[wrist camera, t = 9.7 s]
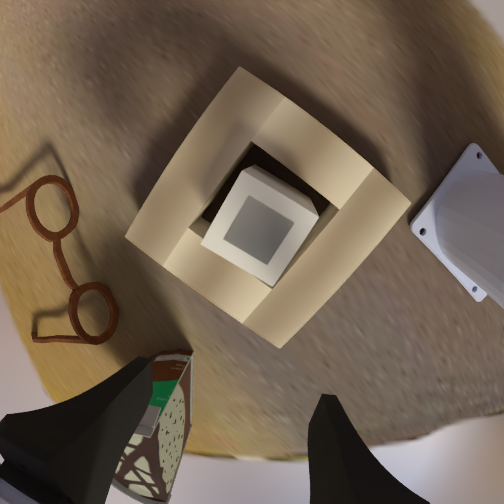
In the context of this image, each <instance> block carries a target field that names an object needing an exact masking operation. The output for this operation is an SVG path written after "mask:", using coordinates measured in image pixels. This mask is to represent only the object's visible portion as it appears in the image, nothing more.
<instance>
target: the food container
mask: <svg viewBox="0 0 504 504" xmlns="http://www.w3.org/2000/svg"><path fill="white" fill-rule="evenodd" d="M193 358H194V351H188V350H181V349H179V350H168V351H162V352H160V353H157V354H155V355H153V356H151V357H150V358H149V359H151V360H152V372H153V395H152V397H151V400H150V403H149V405H148V408H147V410H146V412H145V414H144V416H143V418H142V420H141V421H140V423H139V425H138V427H137V429H136V430H135V432H134V434H133V436H132V438H131V439H130V441H129V443H128V445H127V446H126V448H125V450H124V452H123V454H122V457H121V459H120V462H119V464H118V467H117V469H116V472H115V475H114V477H113V480H112V483H111V485H112V486H113V487H115V488H116V489H118V490H119V491H121V492H122V493H124V494H125V495H128V496H129V497H131V498H133V499H135V500H137V501H139V502H141V503H143V504H168V503H169V501H170V498H171V491H172V488H173V484H174V481H175V478H176V475H177V471H178V468H179V465H180V462H181V458H182V455H183V452H184V449H185V446H186V443H187V439H188V436H189V433H190V430H191V427H192V400H193Z"/></svg>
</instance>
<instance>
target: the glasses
mask: <svg viewBox="0 0 504 504" xmlns="http://www.w3.org/2000/svg"><path fill="white" fill-rule="evenodd" d="M45 184H55V185H57V186H59V187H60V188H62V189H63V191H64V192H65V193H66V195H67V197H68V200H69V203H70V208H71V217H70V221H69V223H68V224H67V226H66V227H65V228H64V229H62V230H61V231H59V232H51V231H49V230H47V229H46V228H45V227H43V225H42V224H41V223H40V221H39V220H38V218H37V215H36V212H35V207H34V198H35V194H36V192H37V190H38V189H39V188H40V187H41V186H42V185H45ZM25 196H26V212H27V216H28V219H29V221H30V224H31V225H32V227H33V229H34V230H35V231H36V233H37V234H38V235H40V236H41V237H42V238H43V239H45V240H46V241H49V242H53V253H54V257H55V259H56V262H57V265H58V267H59V270H60V272H61V275H62V277H63V279H64V281H65V283H66V284H67V286H68V287H69V288H70V289H72V290H73V291H72V293H71V294H70V298H69V309H68V310H69V317H70V321H71V324H72V327H73V329H74V330H75V332H76V334H77V335H78V336H67V335H56V336H48V337H37V334H36V333H34V334H31V335H32V340H33V342H37V343H49V342H65V343H82V344H93V345H98V344H102V343H104V342H106V341H107V340H109V339H110V337H111V336H112V335H113V333H114V332H115V330H116V327H117V323H118V310H117V306H116V303H115V301H114V298H113V296H112V294H111V292H110V291H109V289H108V288H107V287H106V286H105V285H103V284H102V283H100V282H89V283H86V284H83V285H81V286H78V285H77V284H76V283H75V281H74V280H73V278H72V275H71V273H70V270H69V268H68V265H67V263H66V260H65V258H64V255H63V253H62V249H61V240H60V239H62V238H64V237H65V236H67V235H68V234H69V233H70V232H71V231H72V230H73V229H74V228H75V227H76V225H77V222H78V218H79V208H78V203H77V200H76V197H75V193H74V191H73V189H72V187H71V186H70V185H69V183H68V182H67V181H66V180H65V179H63V178H61V177H59V176H56V175H48V176H44V177H41V178H40V179H38V180H37V181H35V182H34V183H33V184H31V185H30V186H29V187H27V188H26V189H24V190H23V191H22V192H20V193H19V194H18V195H16V196H15V197H14V198H12V199H11V200H10V201H8V202H7V203H6V204H4V205H3V206H2V207H0V213H1V212H3V211H5V210H7V209H8V208H10V207H11V206H12V205H14V204H15V203H17V202H18V201H19V200H21V199H22V198H24V197H25ZM90 289H96V290H98V291H99V292H101V293H102V294H103V296H104V297H105V299H106V301H107V303H108V305H109V309H110V323H109V326H108V328H107V329H106V331H105V332H104V333H103V334H101V335H100V336H90V335H88V334H87V333H86V332H85V331H84V329H83V328H82V326H81V324H80V322H79V319H78V314H77V305H78V301H79V298H80V297H81V295H82V294H83V293H84V292H86V291H88V290H90Z"/></svg>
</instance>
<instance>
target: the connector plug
mask: <svg viewBox="0 0 504 504" xmlns="http://www.w3.org/2000/svg"><path fill="white" fill-rule="evenodd" d="M318 218H319V216H318V213H317V211H316V209H315V207H314V205H313V203H312V201H311V199H310V197H308V196H307V195H305V194H303V193H302V192H300V191H299V190H297V189H295V188H294V187H292V186H290V185H289V184H287V183H286V182H284V181H282V180H281V179H279V178H277V177H276V176H274V175H272V174H271V173H269V172H267V171H266V170H264V169H262V168H260V167H259V166H257V165H253V166H251V167H248V168H246V169H244V170H242V172H241V173H240V175H239V177H238V178H237V180H236V182H235V184H234V185H233V187H232V189H231V190H230V192H229V194H228V196H227V197H226V199H225V201H224V203H223V205H222V206H221V208H220V210H219V212H218V213H217V215H216V217H215V219H214V220H213V222H212V224H211V226H210V228H209V229H208V231H207V233H206V235H205V237H204V239H203V240H202V242H201V245H202V246H204V247H206V248H207V249H209V250H211V251H212V252H214V253H216V254H218V255H219V256H221V257H223V258H224V259H226V260H228V261H229V262H231V263H233V264H235V265H236V266H238V267H240V268H241V269H243V270H245V271H247V272H248V273H250V274H252V275H253V276H255V277H257V278H259V279H260V280H262V281H264V282H265V283H267V284H269V285H271V286H272V287H273V286H274V284H275V283H276V281H277V280H278V278H279V277H280V275H281V274H282V273H283V271H284V270H285V268H286V267H287V265H288V264H289V262H290V261H291V259H292V258H293V256H294V255H295V253H296V252H297V250H298V249H299V247H300V246H301V244H302V243H303V241H304V240H305V238H306V237H307V235H308V234H309V232H310V231H311V229H312V228H313V226H314V225H315V223H316V222H317V220H318Z"/></svg>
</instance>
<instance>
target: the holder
mask: <svg viewBox="0 0 504 504" xmlns="http://www.w3.org/2000/svg"><path fill="white" fill-rule="evenodd" d="M254 144H256V145H258V146H259V147H260V148H262V149H263V150H264V151H266V152H267V153H268V154H270V155H271V156H273V157H274V158H275V159H277V160H278V161H279V162H280V163H282V164H283V165H284V166H286V167H287V168H288V169H290V170H291V171H292V172H294V173H295V174H296V175H297V176H299V177H300V178H301V179H303V180H304V181H305V182H306V183H308V184H309V185H310V186H311V187H313V188H314V189H315V190H316V191H318V192H319V193H320V194H321V195H323V196H324V197H325V198H326V199H327V200H329V201H330V202H331V203H330V204H329V205H328V207H327V208H326V209H325V210H324V212H323V213H322V214H321V215H320V216H319V218H318V220H317V222H316V223H315V225H314V226H313V228H312V229H311V231H310V232H309V234H308V235H307V237H306V238H305V240H304V241H303V243H302V244H301V246H300V247H299V249H298V250H297V252H296V253H295V255H294V256H293V258H292V259H291V261H290V262H289V264H288V265H287V267H286V268H285V270H284V271H283V273H282V274H281V275H280V277H279V278H278V280H277V281H276V283H275V284H274V286H273V287H272V286H271V285H269V284H267V283H265V282H264V281H262V280H260V279H259V278H257V277H255V276H253V275H252V274H250V273H248V272H247V271H245V270H243V269H241V268H240V267H238V266H236V265H235V264H233V263H231V262H229V261H228V260H226V259H224V258H223V257H221V256H219V255H218V254H216V253H214V252H212V251H211V250H209V249H207V248H206V247H204V246H202V245H201V242H202V240H203V239H204V237H205V235H206V233H207V231H208V229H209V228H210V226H211V224H210V223H209V222H208V221H206V220H205V219H204V218H202V217H201V216H202V215H203V214H204V212H205V211H206V209H207V208H208V207H209V205H210V204H211V202H212V201H213V199H214V198H215V197H216V195H217V194H218V193H219V191H220V190H221V188H222V187H223V186H224V184H225V183H226V181H227V180H228V179H229V177H230V176H231V175H232V173H233V172H234V171H235V169H236V168H237V167H238V165H239V164H240V162H241V161H242V160H243V158H244V157H245V156H246V154H247V153H248V152H249V150H250V149H251V148H252V147H253V145H254ZM410 204H411V202H410V201H409V200H408V199H407V198H406V197H405V196H404V195H403V194H402V193H401V192H399V191H398V190H397V189H396V188H395V187H394V186H393V185H392V184H391V183H390V182H389V181H388V180H387V179H386V178H385V177H384V176H382V175H381V174H380V173H379V172H378V171H377V170H376V169H375V168H374V167H373V166H371V165H370V164H369V163H368V162H367V161H366V160H365V159H363V158H362V157H361V156H360V155H359V154H358V153H357V152H355V151H354V150H353V149H352V148H351V147H349V146H348V145H347V144H346V143H345V142H343V141H342V140H341V139H340V138H339V137H337V136H336V135H335V134H334V133H332V132H331V131H330V130H329V129H327V128H326V127H325V126H324V125H322V124H321V123H320V122H318V121H317V120H316V119H315V118H313V117H312V116H311V115H309V114H308V113H307V112H305V111H304V110H303V109H301V108H300V107H299V106H297V105H296V104H294V103H293V102H292V101H290V100H289V99H288V98H286V97H285V96H283V95H282V94H281V93H279V92H278V91H276V90H275V89H273V88H272V87H270V86H269V85H267V84H266V83H264V82H263V81H261V80H260V79H258V78H257V77H255V76H254V75H252V74H251V73H249V72H248V71H246V70H245V69H243V68H241V67H240V66H239V67H238V68H237V70H236V71H235V72H234V73H233V75H232V76H231V77H230V78H229V80H228V81H227V82H226V84H225V85H224V86H223V87H222V89H221V90H220V91H219V93H218V94H217V95H216V97H215V98H214V99H213V101H212V102H211V103H210V105H209V106H208V107H207V109H206V110H205V111H204V113H203V114H202V116H201V117H200V118H199V120H198V121H197V123H196V124H195V125H194V127H193V128H192V130H191V131H190V133H189V134H188V135H187V137H186V138H185V140H184V141H183V143H182V144H181V146H180V147H179V149H178V150H177V152H176V153H175V155H174V156H173V158H172V159H171V161H170V162H169V164H168V165H167V167H166V169H165V170H164V172H163V173H162V175H161V176H160V178H159V180H158V181H157V183H156V184H155V186H154V188H153V189H152V191H151V193H150V194H149V196H148V197H147V199H146V201H145V202H144V204H143V206H142V208H141V209H140V211H139V213H138V214H137V216H136V218H135V220H134V221H133V223H132V225H131V227H130V228H129V230H128V232H127V234H126V235H125V238H127V239H128V240H129V241H131V242H132V243H133V244H134V245H136V246H137V247H138V248H139V249H141V250H142V251H143V252H145V253H146V254H147V255H149V256H150V257H151V258H152V259H154V260H155V261H156V262H158V263H159V264H160V265H162V266H163V267H164V268H166V269H167V270H168V271H170V272H171V273H172V274H174V275H175V276H176V277H178V278H179V279H180V280H182V281H183V282H184V283H186V284H187V285H189V286H190V287H191V288H193V289H194V290H195V291H197V292H198V293H200V294H201V295H202V296H204V297H205V298H207V299H208V300H209V301H211V302H212V303H214V304H215V305H216V306H218V307H219V308H221V309H222V310H223V311H225V312H226V313H228V314H229V315H231V316H232V317H233V318H235V319H236V320H238V321H239V322H241V323H242V324H244V325H245V326H247V327H248V328H250V329H251V330H252V331H254V332H255V333H257V334H258V335H260V336H261V337H263V338H264V339H266V340H267V341H269V342H270V343H272V344H273V345H275V346H276V347H278V348H279V349H280V348H281V347H282V346H283V345H284V344H285V343H286V342H287V341H288V340H289V339H290V338H291V337H292V336H293V335H294V334H295V333H296V332H297V331H298V330H299V329H300V328H301V327H302V326H303V325H304V324H305V323H306V322H307V321H308V320H309V319H310V318H311V317H312V316H313V315H314V314H315V313H316V312H317V311H318V310H319V309H320V308H321V306H322V305H323V304H324V303H325V302H326V301H327V300H328V299H329V298H330V297H331V296H332V295H333V294H334V293H335V292H336V290H337V289H338V288H339V287H340V286H341V285H342V284H343V283H344V282H345V281H346V280H347V278H348V277H349V276H350V275H351V274H352V273H353V272H354V271H355V270H356V268H357V267H358V266H359V265H360V264H361V263H362V262H363V261H364V259H365V258H366V257H367V256H368V255H369V254H370V252H371V251H372V250H373V249H374V248H375V247H376V246H377V244H378V243H379V242H380V241H381V240H382V238H383V237H384V236H385V235H386V234H387V233H388V231H389V230H390V229H391V228H392V227H393V225H394V224H395V223H396V222H397V220H398V219H399V218H400V217H401V216H402V214H403V213H404V212H405V211H406V209H407V208H408V207H409V206H410Z"/></svg>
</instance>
